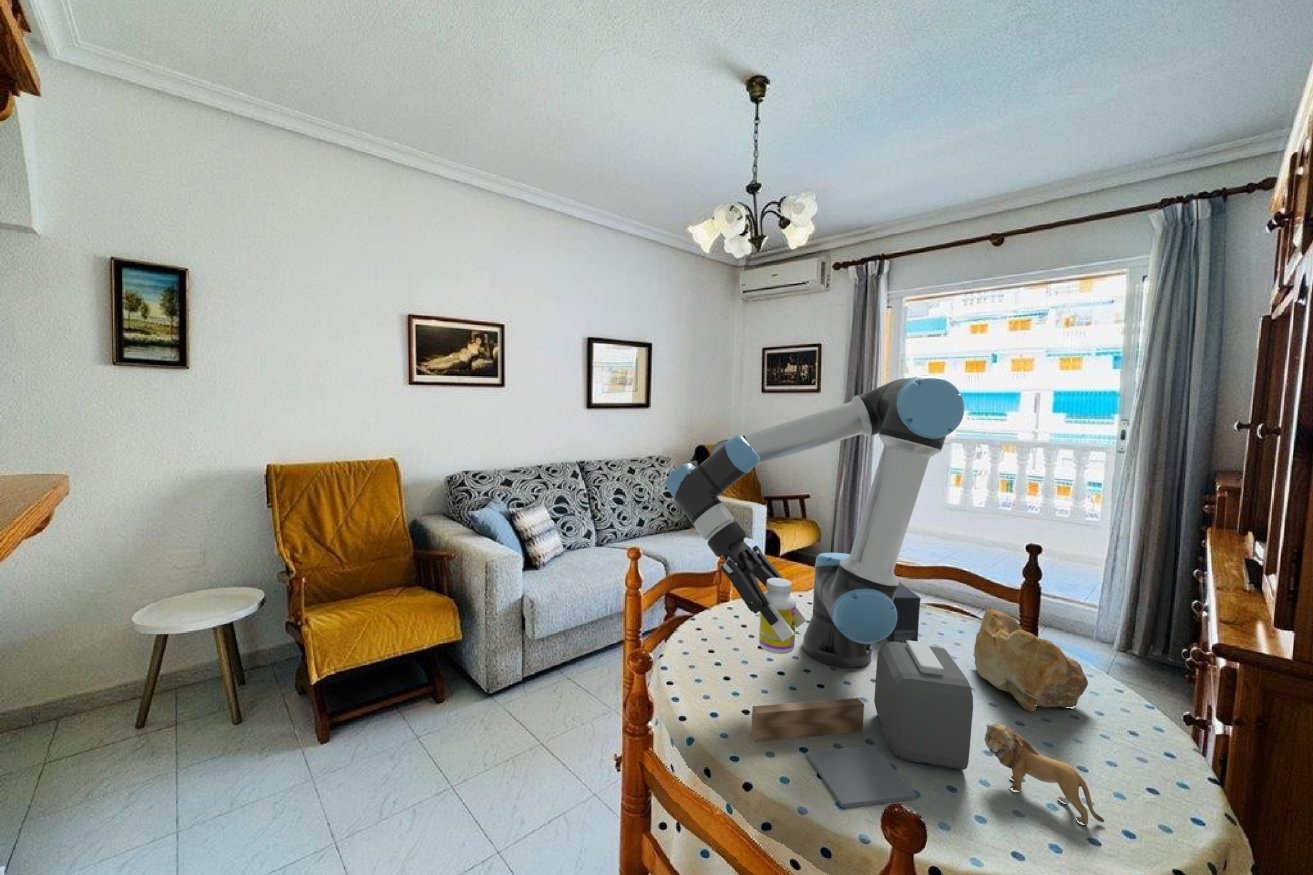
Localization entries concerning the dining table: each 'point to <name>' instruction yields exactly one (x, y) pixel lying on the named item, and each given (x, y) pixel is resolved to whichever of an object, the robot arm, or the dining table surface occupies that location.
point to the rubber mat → (859, 776)
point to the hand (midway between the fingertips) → (795, 630)
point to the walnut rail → (807, 719)
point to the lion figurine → (1037, 767)
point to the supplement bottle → (787, 608)
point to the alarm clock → (924, 704)
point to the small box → (905, 615)
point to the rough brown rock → (1026, 664)
